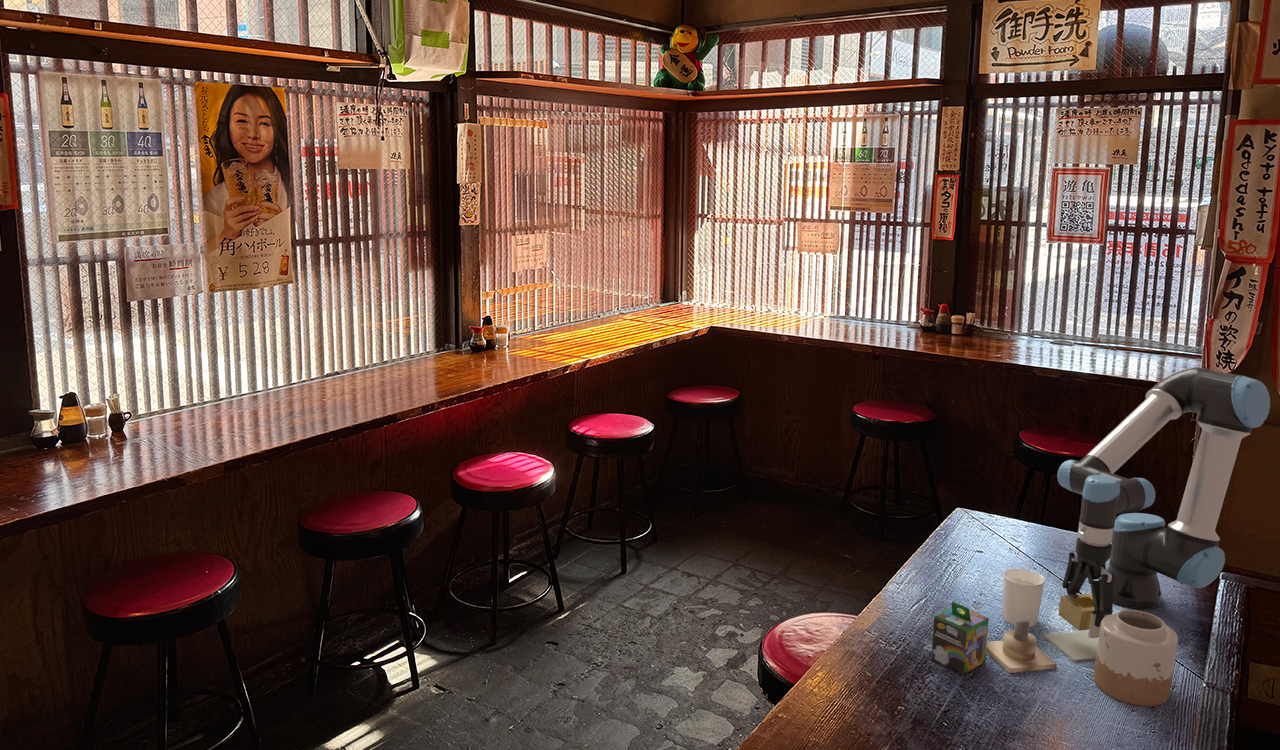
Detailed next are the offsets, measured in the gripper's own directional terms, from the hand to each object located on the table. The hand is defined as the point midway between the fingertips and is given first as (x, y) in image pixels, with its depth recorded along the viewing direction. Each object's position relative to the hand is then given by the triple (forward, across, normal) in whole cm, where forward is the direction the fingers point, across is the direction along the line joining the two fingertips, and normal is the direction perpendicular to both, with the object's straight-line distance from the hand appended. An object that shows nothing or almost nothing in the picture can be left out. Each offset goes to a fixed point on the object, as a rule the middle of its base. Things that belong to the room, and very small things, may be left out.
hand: (1082, 628), depth 226 cm
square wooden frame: (-2, 0, 0) cm, 2 cm away
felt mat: (+5, 0, 0) cm, 5 cm away
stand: (+5, +2, -18) cm, 19 cm away
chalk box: (+6, +1, -33) cm, 33 cm away
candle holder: (+5, -15, -7) cm, 17 cm away
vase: (+5, +18, 0) cm, 19 cm away
